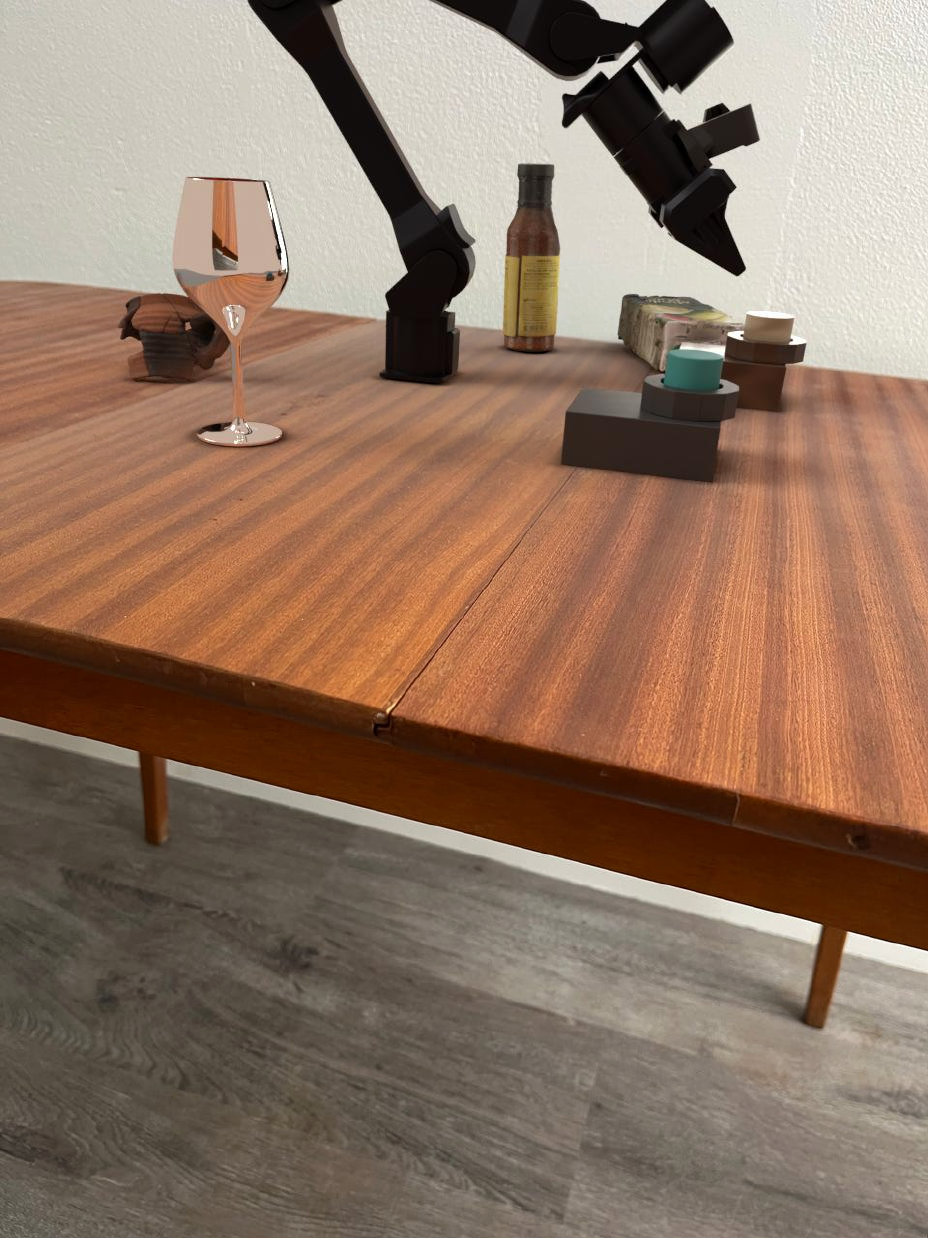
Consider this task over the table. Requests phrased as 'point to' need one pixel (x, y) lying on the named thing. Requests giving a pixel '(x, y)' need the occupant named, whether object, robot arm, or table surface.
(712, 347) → the base
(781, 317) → the bell button
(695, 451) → the dark brown block
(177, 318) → the pottery mug
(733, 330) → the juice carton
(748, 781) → the table surface
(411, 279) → the robot arm
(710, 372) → the teal button
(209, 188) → the wineglass
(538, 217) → the sauce bottle
